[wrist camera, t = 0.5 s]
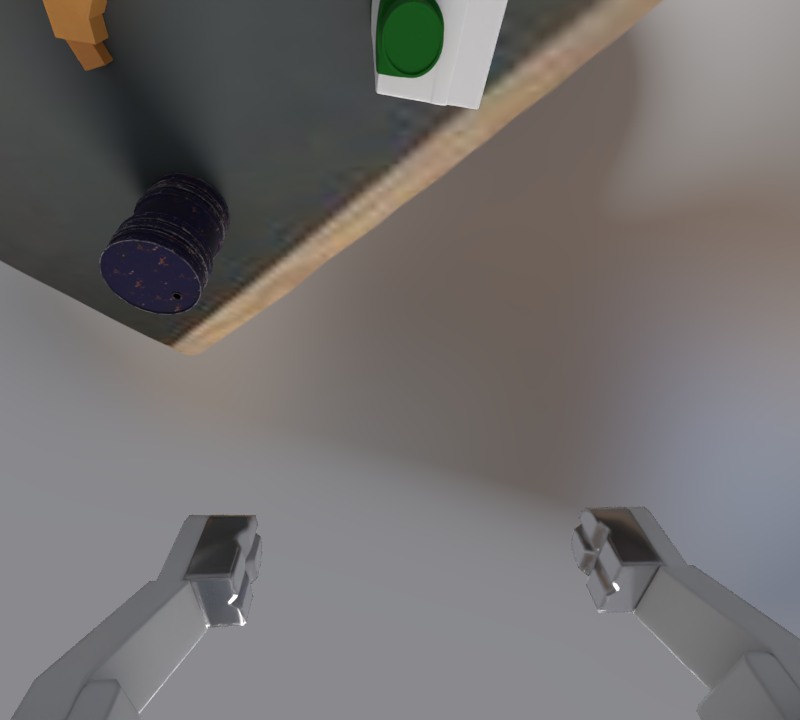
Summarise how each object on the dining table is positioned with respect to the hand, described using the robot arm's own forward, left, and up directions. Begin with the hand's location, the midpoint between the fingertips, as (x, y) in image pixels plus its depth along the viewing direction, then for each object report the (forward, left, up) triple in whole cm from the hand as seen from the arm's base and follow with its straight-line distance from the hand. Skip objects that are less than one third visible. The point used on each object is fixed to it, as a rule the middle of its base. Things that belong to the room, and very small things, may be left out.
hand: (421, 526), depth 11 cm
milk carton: (-6, +1, -49) cm, 49 cm away
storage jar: (+28, -9, -49) cm, 57 cm away
